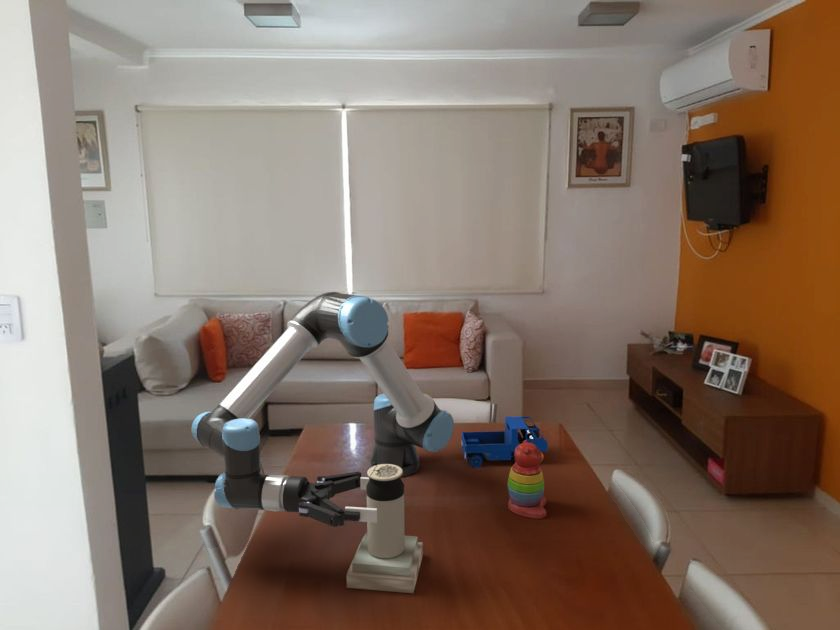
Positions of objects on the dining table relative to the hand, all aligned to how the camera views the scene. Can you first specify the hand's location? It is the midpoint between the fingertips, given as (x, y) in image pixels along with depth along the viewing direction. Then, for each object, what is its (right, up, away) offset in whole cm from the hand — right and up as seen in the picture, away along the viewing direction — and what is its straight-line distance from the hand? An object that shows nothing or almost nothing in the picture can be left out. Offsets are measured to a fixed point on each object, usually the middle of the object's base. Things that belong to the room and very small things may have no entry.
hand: (383, 499), depth 128 cm
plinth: (0, -16, +3) cm, 17 cm away
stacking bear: (+36, -12, +30) cm, 48 cm away
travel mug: (0, -12, +2) cm, 12 cm away
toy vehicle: (+34, -6, +60) cm, 69 cm away
